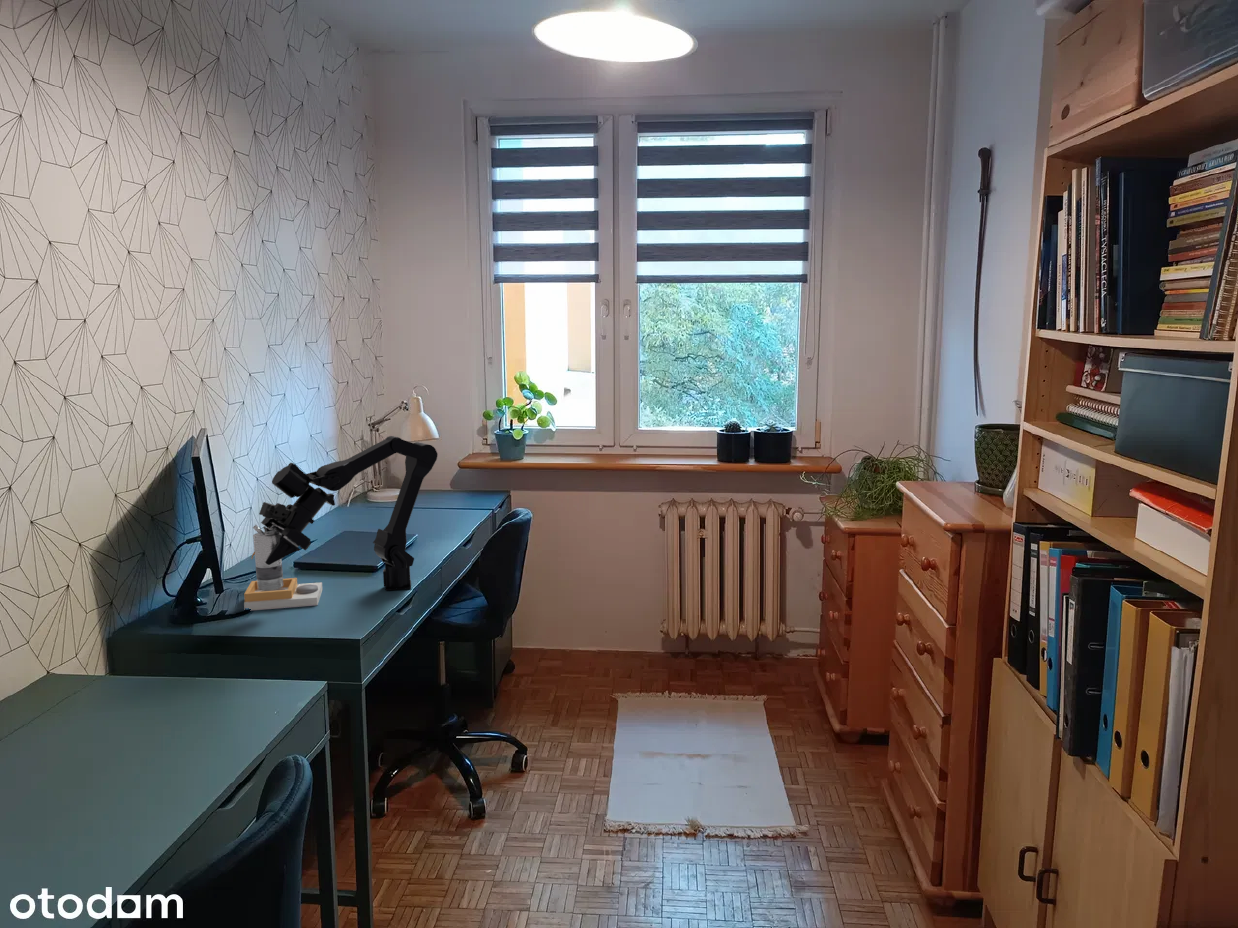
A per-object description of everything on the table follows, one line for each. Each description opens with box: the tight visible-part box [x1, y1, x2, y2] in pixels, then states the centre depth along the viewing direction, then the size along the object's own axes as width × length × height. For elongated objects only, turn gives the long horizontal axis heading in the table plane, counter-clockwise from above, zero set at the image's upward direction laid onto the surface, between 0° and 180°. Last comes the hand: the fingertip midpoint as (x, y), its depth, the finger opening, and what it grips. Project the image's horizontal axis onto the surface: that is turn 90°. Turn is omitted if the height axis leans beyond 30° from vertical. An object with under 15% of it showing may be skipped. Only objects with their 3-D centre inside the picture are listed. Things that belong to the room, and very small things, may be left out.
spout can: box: [252, 524, 284, 590], centre depth 213 cm, size 6×6×16 cm
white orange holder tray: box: [243, 577, 323, 611], centre depth 225 cm, size 17×13×4 cm
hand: (262, 561), depth 212 cm, fingers closed on spout can, 6 cm apart
